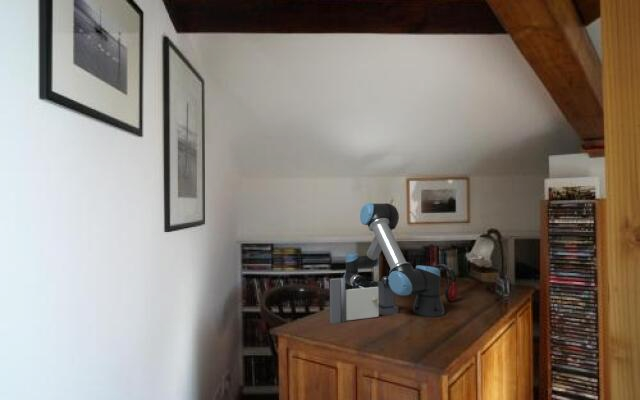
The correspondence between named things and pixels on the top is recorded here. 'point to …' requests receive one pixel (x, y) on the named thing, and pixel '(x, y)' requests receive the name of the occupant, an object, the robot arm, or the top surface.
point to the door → (361, 303)
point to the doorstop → (386, 298)
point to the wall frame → (337, 300)
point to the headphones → (451, 289)
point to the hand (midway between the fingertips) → (376, 289)
